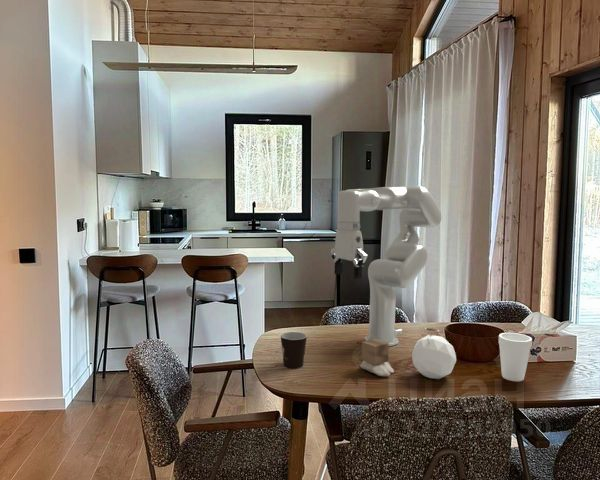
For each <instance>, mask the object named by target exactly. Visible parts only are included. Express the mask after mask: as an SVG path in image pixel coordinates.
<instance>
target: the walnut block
mask: <svg viewBox="0 0 600 480" xmlns="http://www.w3.org/2000/svg"><path fill="white" fill-rule="evenodd" d="M389 347H390V346H389V343H387V342H384V341H381V340H378V339H372V340H367V341H365V340H363V341H361V360H362V362H363V361H366V362H368V363H371V364H373V365H377V364H381V363H384V362H388V363H389V350H390V349H389Z"/></svg>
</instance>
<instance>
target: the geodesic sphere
mask: <svg viewBox="0 0 600 480" xmlns="http://www.w3.org/2000/svg"><path fill="white" fill-rule="evenodd" d="M411 359H412V360H411V362H412V363H413V365H414V367H415V369H416V370H417V371H418V372H419V373H420V374H421V375H422V376H424V378H425V377H426V378H429V379H434V380H440V379H442V378H444V377H446V376H447V375H450V374H451V373H452V372H453V369H454V367H455V364H456V362H457V354H456V352H455V348H454V346H453V345H452V344H451V343H449V341H448V340H447V339H446V338H444V337H443V336H440V335H436V334H432V333H431V334H427V335H426V336H424V337H422V338H420V339H418V340H417V341H416V342H415V345H414V347H413V350H412V353H411Z"/></svg>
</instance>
